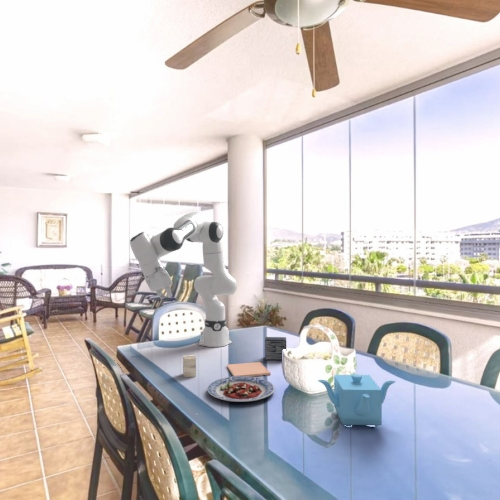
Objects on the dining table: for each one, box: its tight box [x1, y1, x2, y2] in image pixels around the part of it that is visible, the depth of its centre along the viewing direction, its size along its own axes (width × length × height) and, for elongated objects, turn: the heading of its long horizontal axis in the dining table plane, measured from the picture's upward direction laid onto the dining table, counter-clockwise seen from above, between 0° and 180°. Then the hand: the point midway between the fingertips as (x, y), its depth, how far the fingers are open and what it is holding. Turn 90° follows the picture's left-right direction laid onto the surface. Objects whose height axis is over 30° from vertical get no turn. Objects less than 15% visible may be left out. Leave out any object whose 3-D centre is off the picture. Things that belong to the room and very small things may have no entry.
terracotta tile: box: [226, 361, 271, 377], centre depth 176 cm, size 16×16×1 cm
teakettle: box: [317, 373, 397, 426], centre depth 126 cm, size 19×19×15 cm
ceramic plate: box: [207, 376, 276, 403], centre depth 150 cm, size 26×26×3 cm
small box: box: [264, 336, 287, 362], centre depth 194 cm, size 11×6×10 cm, turn 84°
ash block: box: [182, 354, 197, 378], centre depth 170 cm, size 5×5×8 cm
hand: (166, 298), depth 168 cm, fingers open, 8 cm apart
